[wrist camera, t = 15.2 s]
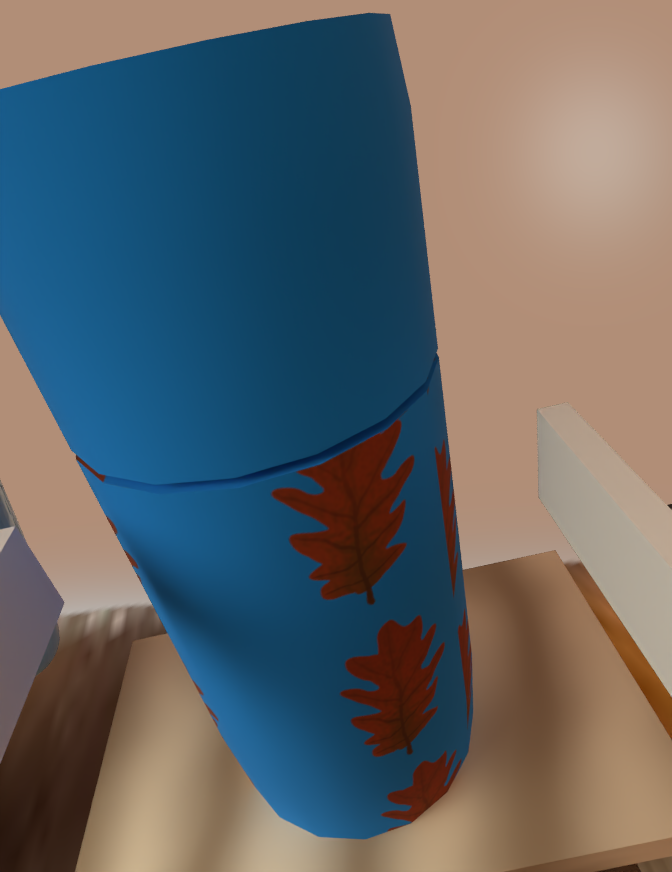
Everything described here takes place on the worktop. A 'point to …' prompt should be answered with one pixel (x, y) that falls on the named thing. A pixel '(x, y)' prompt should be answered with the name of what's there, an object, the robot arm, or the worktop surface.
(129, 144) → the thermos
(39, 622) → the robot arm
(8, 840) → the worktop surface
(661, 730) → the stool
